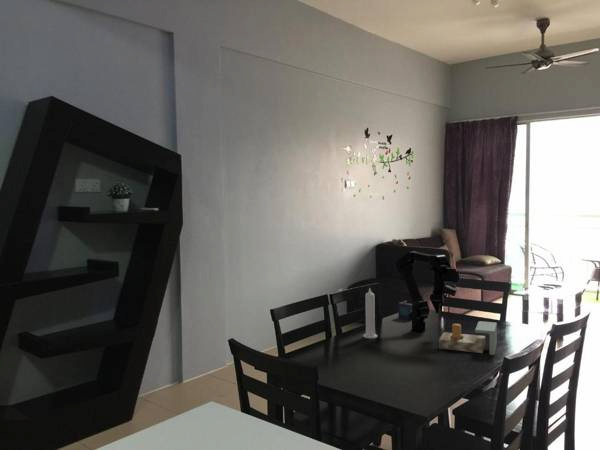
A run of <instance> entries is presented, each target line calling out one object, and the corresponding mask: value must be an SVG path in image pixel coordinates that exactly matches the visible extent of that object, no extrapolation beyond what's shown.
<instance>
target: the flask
mask: <svg viewBox="0 0 600 450" xmlns="http://www.w3.org/2000/svg"><path fill="white" fill-rule="evenodd" d="M407 302H408V300H403V301H401V302H398V318H399V319H401V320H407V321H412V320H411V319H409V314H410V313H411V312H412V303H407Z"/></svg>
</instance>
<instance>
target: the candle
mask: <svg viewBox="0 0 600 450" xmlns="http://www.w3.org/2000/svg"><path fill="white" fill-rule="evenodd" d="M367 291H368V292H366V293H365V297H364V298H365V333H364V334H363V338H365V339H369V340H370V339H377V338H378V334H376V328H375V327H376V323H375V322H376V320H375V319H376V317H375V316H376V313H375V311H376V310H375V309H376V308H375V307H376V306H375V304H376V303H375V299H376V298H375V293H374V292H373V291H372V289H371V287H369V289H368V290H367Z"/></svg>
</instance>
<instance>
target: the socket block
mask: <svg viewBox="0 0 600 450" xmlns="http://www.w3.org/2000/svg"><path fill="white" fill-rule="evenodd" d="M485 347H486V335H479V334H467V333H461V339H452V332H447V331H445V332H444V331H443V333H442V334H441V335H440V337H439V340H438V349H439V350H440V349H441V350H451V351H460V352H461V351H462V352H470V353H479V354H483V353H484V350H485Z"/></svg>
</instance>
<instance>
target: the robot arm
mask: <svg viewBox="0 0 600 450" xmlns="http://www.w3.org/2000/svg"><path fill="white" fill-rule="evenodd" d="M416 261H420V262H424V263H427V264H429V265H430V266H431V267H430V268H429V271H432V279H433V280H432V284H431V285H432V292H431V294H430V295H429V300H430V303H431V304H432V306H433V308H434V311H435V313H436V314H439V313H440V310H443V306H444V301H445V299H446V298H447V297H448V295H450V296H452V297H456V294H457V291H458V288H457V286H456V283H457V282H458V281H459V280H460V274H459V272H458V271H457V268H454V267H453V268H452V266H451V264H450V262H449V260H448V258H447V255H445V254H431V253H430V254H429V253H425V252H419V251H416V250H413V251H412V250H411V251H408V252H407V253H405V254H404V255H403V256H401V257H400V258H399V259H398V260H396V263H395V266H396V269H397V271H398V273H399V274H400V275H402V276H403V278H404V281H405V284H406V287H407V289H408V294H409V295H410V298H411V304H412V312H411V313H410V314H409V319H411V320H410V321H411V329H410V331H411V332H418V333H424V332H425V331H426V330H427V321H426V319H428V318H429V314H430V312H431V311H430V308H431V307H430V306H429V303H428V301H427V300H424V299H422V295H421V293H420V291H419V287H418V285H417V283H416V280H415V277H414V274H413V272H414V266H413V265H414V264H415V263H416ZM447 282H448V283H453V284H451V285H448V284H447Z"/></svg>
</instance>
